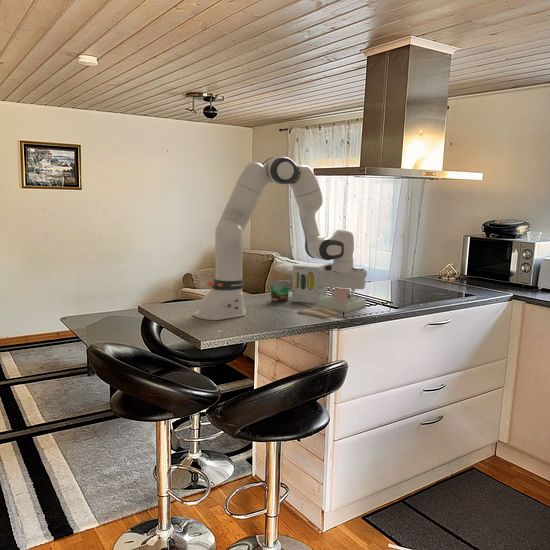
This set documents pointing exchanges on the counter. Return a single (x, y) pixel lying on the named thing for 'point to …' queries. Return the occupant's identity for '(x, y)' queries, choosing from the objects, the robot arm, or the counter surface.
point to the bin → (341, 304)
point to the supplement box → (307, 283)
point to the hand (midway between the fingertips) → (341, 297)
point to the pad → (319, 312)
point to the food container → (280, 290)
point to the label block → (341, 295)
